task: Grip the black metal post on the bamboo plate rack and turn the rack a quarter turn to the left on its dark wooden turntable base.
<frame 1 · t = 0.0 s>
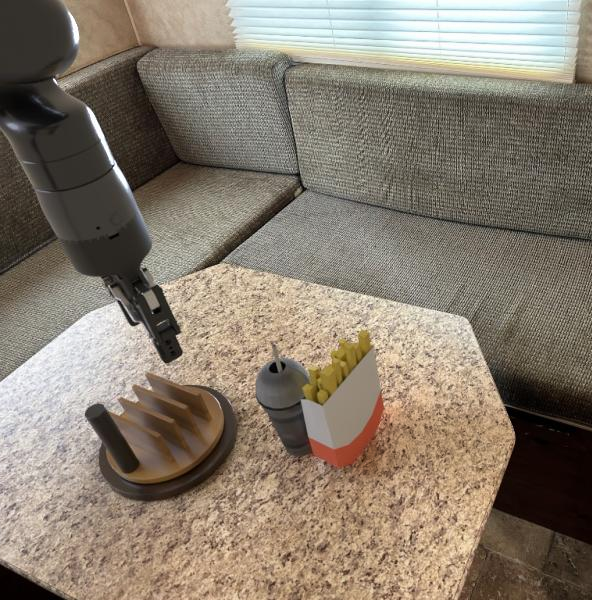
hand: (155, 339, 67), 24 cm above the table, tool pointing down, fingers open, 8 cm apart
plate rack: (151, 405, 82), point 8 cm above the table, hinge at 0.0°
french fries container: (351, 442, 84), on the table
turntable base: (171, 441, 87), on the table
beverage cup: (301, 443, 85), on the table
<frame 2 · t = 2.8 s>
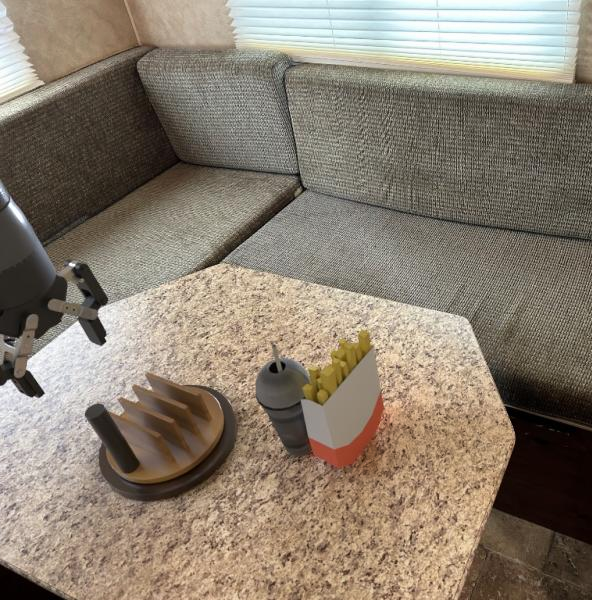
hand: (69, 367, 68), 22 cm above the table, tool pointing down, fingers open, 8 cm apart
nothing on the table moved.
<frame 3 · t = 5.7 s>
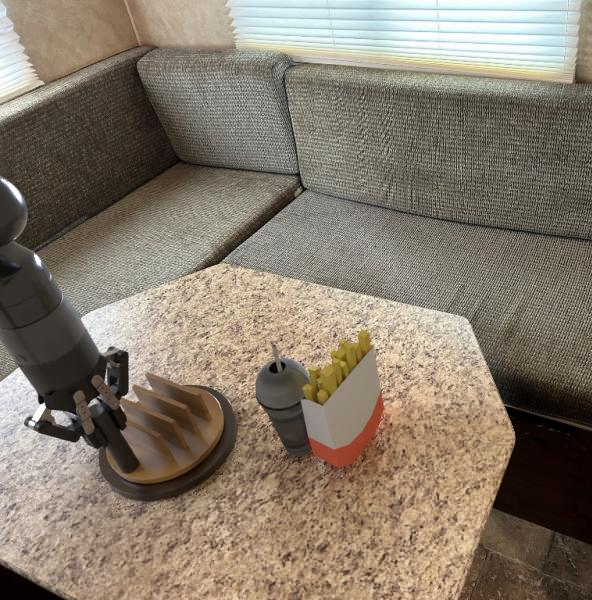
hand: (110, 435, 76), 9 cm above the table, tool pointing down, fingers closed on plate rack, 2 cm apart
plate rack: (151, 405, 82), point 8 cm above the table, hinge at 0.0°, touching gripper
everything else where it was.
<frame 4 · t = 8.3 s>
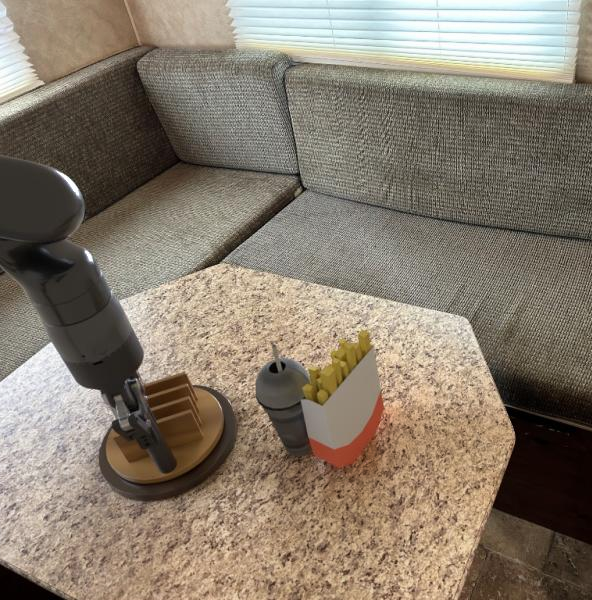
hand: (149, 435, 76), 9 cm above the table, tool pointing down, fingers closed on plate rack, 2 cm apart
plate rack: (151, 405, 82), point 8 cm above the table, hinge at 47.8°, touching gripper
everything else where it was.
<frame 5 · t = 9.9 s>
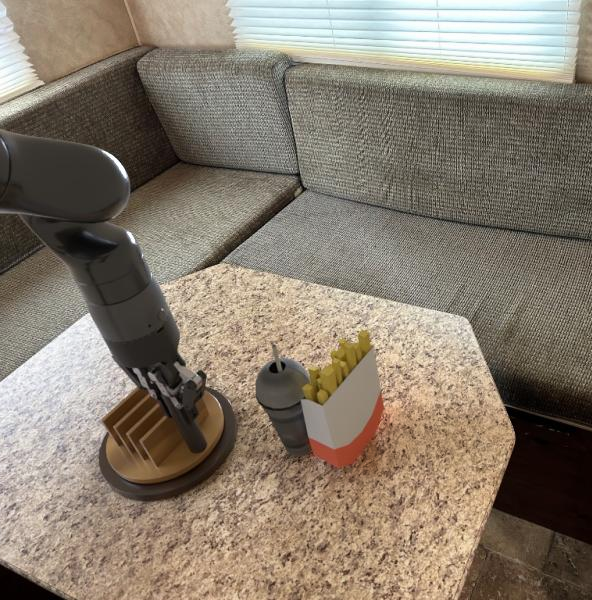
hand: (182, 416, 78), 9 cm above the table, tool pointing down, fingers closed on plate rack, 2 cm apart
plate rack: (151, 405, 82), point 8 cm above the table, hinge at 87.8°, touching gripper
everything else where it was.
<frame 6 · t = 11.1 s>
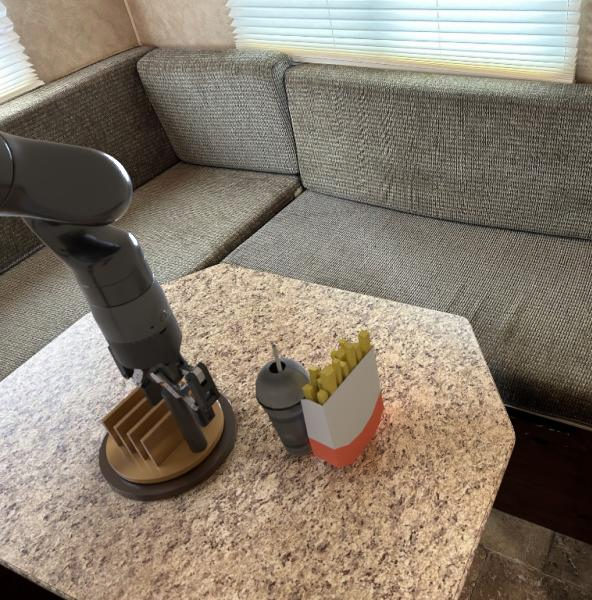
hand: (182, 411, 78), 10 cm above the table, tool pointing down, fingers open, 8 cm apart
plate rack: (151, 405, 82), point 8 cm above the table, hinge at 88.6°
everything else where it was.
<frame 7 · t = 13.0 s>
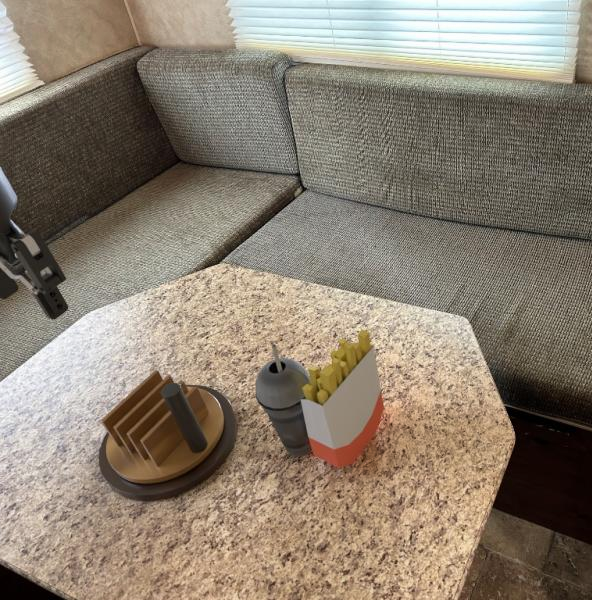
hand: (34, 304, 66), 29 cm above the table, tool pointing down, fingers open, 8 cm apart
nothing on the table moved.
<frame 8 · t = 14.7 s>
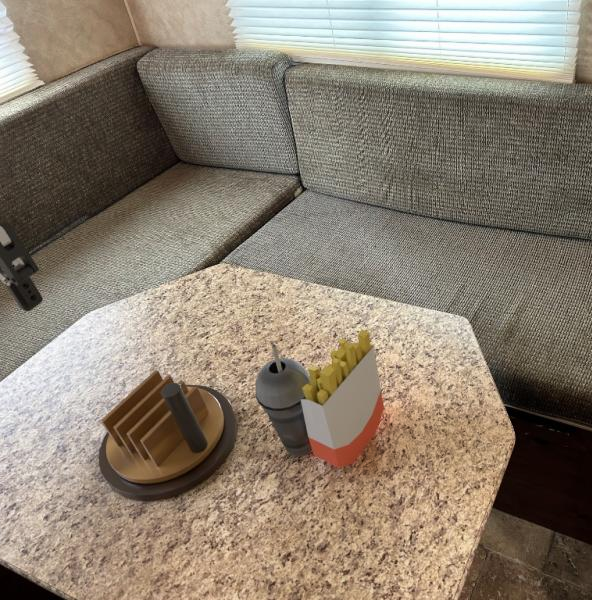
hand: (8, 296, 66), 30 cm above the table, tool pointing down, fingers open, 8 cm apart
nothing on the table moved.
at the end: plate rack at +89° (first picture: +0°); the gripper is holding nothing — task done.
